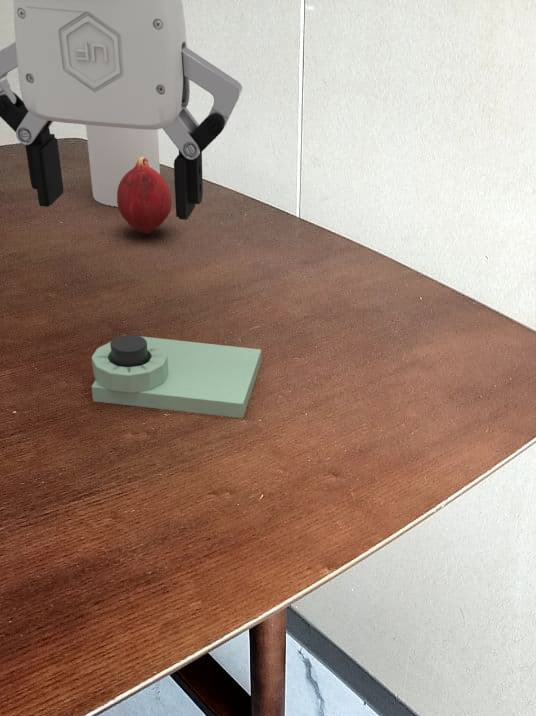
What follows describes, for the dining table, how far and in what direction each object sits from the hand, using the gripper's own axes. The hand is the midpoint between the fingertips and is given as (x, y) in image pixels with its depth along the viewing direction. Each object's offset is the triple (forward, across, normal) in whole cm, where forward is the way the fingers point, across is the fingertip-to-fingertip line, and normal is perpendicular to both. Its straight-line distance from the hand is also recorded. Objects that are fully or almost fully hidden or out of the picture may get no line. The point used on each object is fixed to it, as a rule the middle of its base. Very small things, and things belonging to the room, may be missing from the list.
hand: (118, 206), depth 61 cm
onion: (+15, -8, +32) cm, 36 cm away
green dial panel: (+15, +3, +2) cm, 15 cm away
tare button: (+12, 0, 0) cm, 12 cm away
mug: (+15, -13, +45) cm, 50 cm away
